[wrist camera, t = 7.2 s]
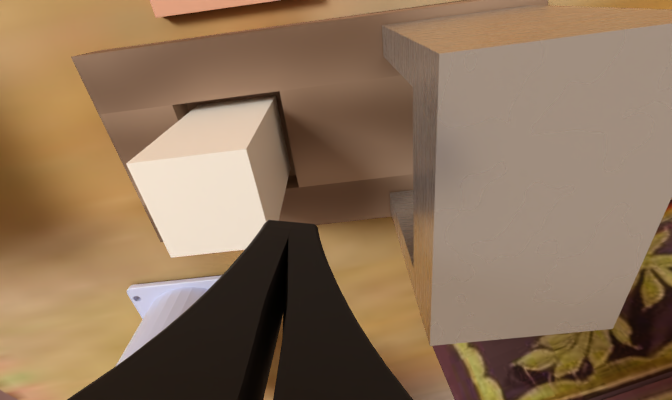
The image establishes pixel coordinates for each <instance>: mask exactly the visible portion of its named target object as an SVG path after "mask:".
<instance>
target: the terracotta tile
mask: <svg viewBox="0 0 672 400" xmlns="http://www.w3.org/2000/svg"><path fill="white" fill-rule="evenodd" d="M272 1H279V0H150V2H151V5H152V8H153V11H154V14H155V17H156V18H158V17H166V16H173V15H180V14H187V13H194V12H201V11H208V10H215V9H222V8H229V7H236V6H244V5H251V4H258V3H265V2H272Z"/></svg>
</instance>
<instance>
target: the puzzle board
mask: <svg viewBox="0 0 672 400" xmlns="http://www.w3.org/2000/svg"><path fill="white" fill-rule="evenodd" d="M528 5H541V6H547V5H548V0H463V1H455V2H448V3H441V4H434V5H426V6H419V7H412V8H405V9H397V10H390V11H383V12H376V13H368V14H361V15H354V16H347V17H339V18H332V19H325V20H318V21H310V22H303V23H296V24H289V25H282V26H274V27H267V28H260V29H253V30H245V31H238V32H231V33H224V34H216V35H209V36H202V37H195V38H187V39H180V40H173V41H166V42H158V43H151V44H144V45H137V46H129V47H122V48H115V49H108V50H100V51H95V52H91V53H86V54H82V55H78V56H73V57H71V58H72V60H73V62H74V64H75V66H76V68H77V70H78V72H79V74H80V76H81V79H82V81H83V83H84V85H85V87H86V89H87V91H88V93H89V95H90V97H91V99H92V101H93V103H94V105H95V107H96V110H97V112H98V114H99V116H100V118H101V120H102V122H103V124H104V126H105V128H106V130H107V132H108V134H109V136H110V138H111V140H112V143H113V145H114V147H115V149H116V151H117V153H118V155H119V157H120V159H121V161H122V163H123V165H124V167H125V169H126V171H127V173H128V176H129V178H130V180H131V182H132V184H133V186H134V188H135V190H136V192H137V194H138V196H139V198H140V200H141V202H142V204H143V206H144V209H145V211H146V213H147V215H148V217H149V219H150V221H151V223H152V225H153V227H154V229H155V231H156V233H157V235H158V237H159V239H160V242H163V240H162V238H161V236H160V233H159V231H158V229H157V227H156V225H155V223H154V221H153V219H152V217H151V215H150V213H149V210H148V208H147V206H146V204H145V202H144V200H143V198H142V196H141V194H140V192H139V190H138V188H137V185H136V183H135V181H134V179H133V177H132V175H131V173H130V171H129V169H128V167H127V165H126V163H128V162H129V161H130V160H131V159H132V158H134V157H135V156H136V155H137V154H139V153H140V152H141V151H142V150H143V149H145V148H146V147H147V146H148V145H150V144H151V143H152V142H153V141H154V140H156V139H157V138H158V137H159V136H161V135H162V134H163V133H164V132H166V131H167V130H168V129H169V128H170V127H172V126H173V125H174V124H175V123H177V122H178V121H179V120H180V119H181V118H183V117H184V116H185V115H186V114H188V113H189V112H190V111H191V110H192V109H194V108H195V107H196V106H198V105H206V104H214V103H221V102H229V101H237V100H245V99H252V98H260V97H268V96H276V101H277V106H278V111H279V115H280V120H281V125H282V130H283V134H284V139H285V144H286V149H287V154H288V158H289V163H290V172H289V177H288V181H287V186H286V190H285V194H284V199H283V203H282V208H281V212H280V217H279V221H287V222H298V223H310V224H315V225H320V224H329V223H338V222H347V221H356V220H365V219H374V218H383V217H392V215H391V210H390V193H392V192H401V191H410V190H413V87H412V86H411V85H410V84H409V83H408V82H407V80H406V79H405V78H404V77H403V76H402V75H401V74H400V73H399V72H398V71H397V70H396V69H395V68H394V67H393V66H392V65H391V64H390V63H389V62H388V61H387V60H386V59H385V57H384V56H383V35H382V25H388V24H395V23H403V22H410V21H417V20H425V19H432V18H440V17H447V16H454V15H462V14H469V13H476V12H484V11H491V10H498V9H506V8H513V7H520V6H528Z"/></svg>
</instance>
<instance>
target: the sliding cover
mask: <svg viewBox="0 0 672 400" xmlns="http://www.w3.org/2000/svg"><path fill="white" fill-rule="evenodd" d="M382 35H383V56H384V57H385V59H386V60H387V61H388V62H389V63H390V64H391V65H392V66H393V67H394V68H395V69H396V70H397V71H398V72H399V73H400V74H401V75H402V76H403V77H404V78H405V79H406V80H407V82H408V83H409V84H410V85H411V86H412V87H413V190H410V191H401V192H392V193H390V210H391V215H392V218H393V222H394V225H395V228H396V232H397V235H398V239H399V242H400V246H401V249H402V252H403V256H404V259H405V263H406V266H407V269H408V273H409V276H410V280H411V283H412V287H413V290H414V293H415V297H416V300H417V304H418V307H419V310H420V314H421V317H422V321H423V324H424V328H425V331H426V334H427V338H428V341H429V345H430V346H435V345H446V344H456V343H467V342H478V341H488V340H499V339H510V338H520V337H531V336H542V335H553V334H563V333H574V332H585V331H595V330H606V329H613V327H614V325H615V323H616V321H617V318H618V316H619V314H620V312H621V309H622V307H623V305H624V303H625V301H626V298H627V296H628V294H629V292H630V289H631V287H632V285H633V283H634V280H635V278H636V276H637V274H638V271H639V269H640V267H641V265H642V263H643V260H644V258H645V256H646V254H647V251H648V249H649V247H650V245H651V242H652V240H653V238H654V236H655V233H656V231H657V229H658V227H659V225H660V222H661V220H662V218H663V216H664V213H665V211H666V209H667V207H668V204H669V202H670V200H671V198H672V10H666V9H635V8H604V7H572V6H541V5H528V6H520V7H513V8H506V9H498V10H491V11H484V12H476V13H469V14H462V15H454V16H447V17H440V18H432V19H425V20H417V21H410V22H403V23H395V24H388V25H382Z"/></svg>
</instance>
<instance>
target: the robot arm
mask: <svg viewBox="0 0 672 400" xmlns="http://www.w3.org/2000/svg"><path fill="white" fill-rule="evenodd" d="M127 294H128V296H129V297H130V299H131V301H132V302H133V304H134V306H135V307H136V309H137V310H138V312H139V314H140V315H141V317H142V319H143V320H142V322H141V323H140V325H139V327H138V328H137V330H136V332H135V334H134V335H133V337H132V339H131V341H130V342H129V344H128V346H127V347H126V349H125V351H124V353H123V354H122V356H121V358H120V360H119V361H118V363H117V365H116V366H115V367H114V368H113V369H111V370H110V371H108V372H107V373H106V374H104V375H103V376H101V377H100V378H98V379H97V380H95V381H94V382H92V383H91V384H89V385H88V386H86V387H85V388H84V389H82V390H81V391H79V392H78V393H76V394H75V395H73V396H72V397H70V398H69V399H67V400H263V398H264V393H265V389H266V384H267V380H268V376H269V372H270V367H271V363H272V359H273V355H274V350H275V346H276V342H277V338H278V333H279V329H280V325H281V320H282V316H283V340H282V346H281V353H280V360H279V366H278V373H277V380H276V386H275V392H274V399H273V400H413V399H412V398H411V397H410V395H409V394H408V393H407V391H406V390H405V389H404V388H403V386H402V385H401V384H400V382H399V381H398V380H397V378H396V377H395V376H394V375H393V373H392V372H391V371H390V369H389V368H388V367H387V366H386V364H385V363H384V361H383V360H382V358H381V357H380V356H379V354H378V353H377V351H376V350H375V348H374V347H373V345H372V344H371V342H370V341H369V339H368V338H367V336H366V335H365V333H364V331H363V330H362V328H361V327H360V325H359V323H358V322H357V320H356V318H355V317H354V315H353V313H352V311H351V310H350V308H349V306H348V304H347V302H346V300H345V298H344V296H343V295H342V293H341V291H340V288H339V286H338V284H337V282H336V280H335V278H334V275H333V273H332V271H331V269H330V266H329V264H328V261H327V259H326V256H325V253H324V251H323V248H322V244H321V241H320V237H319V233H318V228H317V226H316V225H315V224H310V223H298V222H287V221H276V220H268V221H267V222H265V223H264V225H263V226H262V228H261V229H260V231H259V232H258V234H257V235H256V236H255V238H254V239H253V240H252V242H251V243H250V244H249V245H248V247H247V248H246V249H245V250H244V252H243V253H242V254H241V255H240V256H239V257H238V258H237V260H236V261H235V262H234V263H233V264H232V265H231V266H230V268H229V269H228V270H227V271H226V272H225V273H224V274H223V275H221V276H212V277H202V278H193V279H183V280H174V281H164V282H155V283H145V284H136V285H131V286H130V287H129V288H128V290H127Z"/></svg>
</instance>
